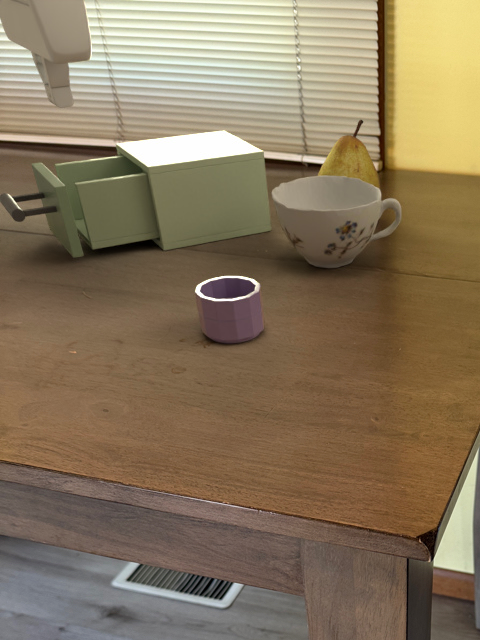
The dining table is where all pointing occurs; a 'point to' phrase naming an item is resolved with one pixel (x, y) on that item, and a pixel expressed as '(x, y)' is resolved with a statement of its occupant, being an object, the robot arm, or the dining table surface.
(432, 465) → the dining table surface
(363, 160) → the fruit
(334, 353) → the dining table surface
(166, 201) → the cabinet
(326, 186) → the teacup
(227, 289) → the bowl
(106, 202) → the drawer
